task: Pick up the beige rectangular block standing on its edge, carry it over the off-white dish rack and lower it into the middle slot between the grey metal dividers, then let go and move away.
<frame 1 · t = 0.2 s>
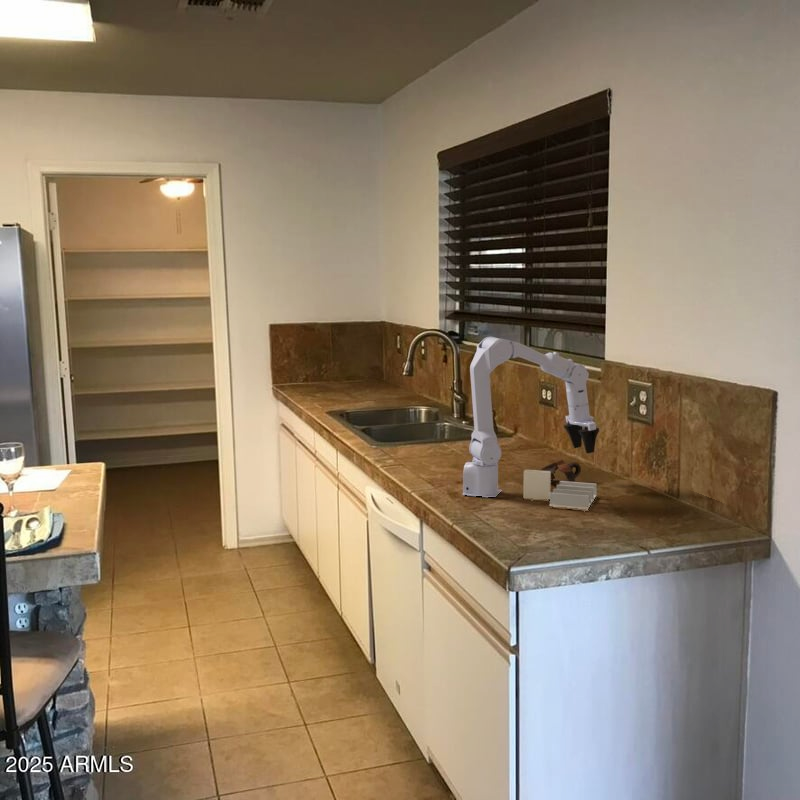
hand: (583, 450, 250), 11 cm above the worktop, tool pointing down, fingers open, 7 cm apart
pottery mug: (562, 484, 255), on the worktop
beige rectangular block: (536, 499, 237), on the worktop
dish rack: (573, 502, 234), on the worktop
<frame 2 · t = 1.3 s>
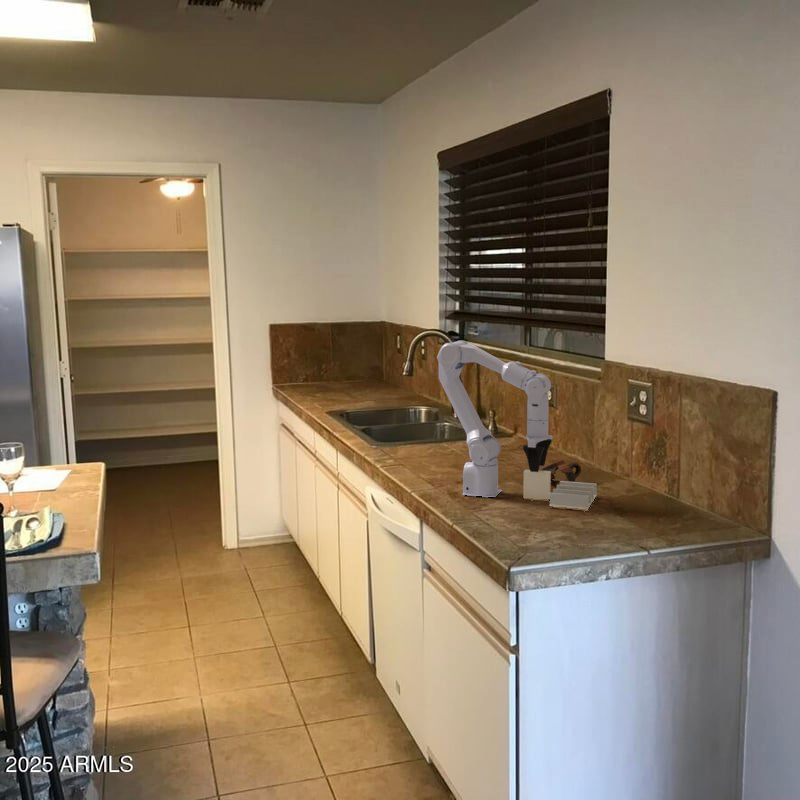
hand: (537, 468, 236), 9 cm above the worktop, tool pointing down, fingers open, 7 cm apart
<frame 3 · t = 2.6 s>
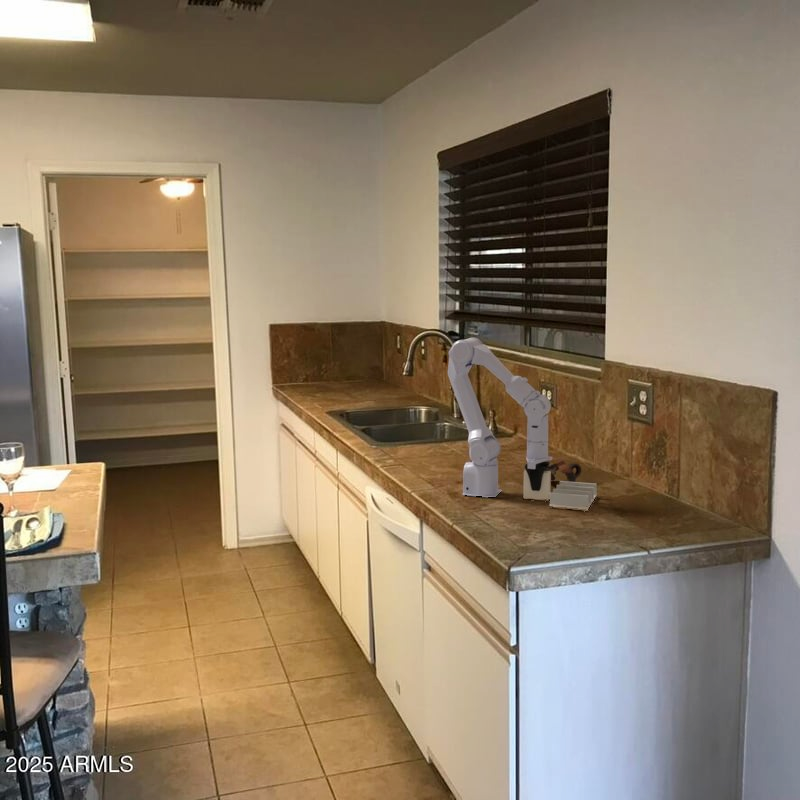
hand: (536, 489, 237), 3 cm above the worktop, tool pointing down, fingers closed on beige rectangular block, 2 cm apart
beige rectangular block: (536, 499, 237), on the worktop, touching gripper
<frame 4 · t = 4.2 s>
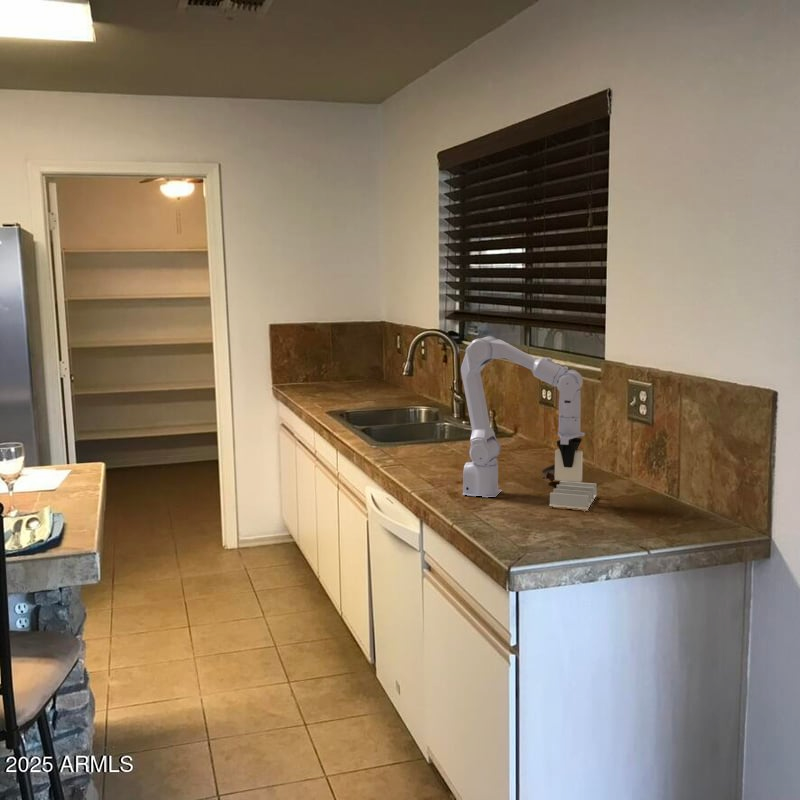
hand: (569, 466, 233), 10 cm above the worktop, tool pointing down, fingers closed on beige rectangular block, 2 cm apart
beige rectangular block: (568, 480, 233), point 6 cm above the worktop, touching gripper
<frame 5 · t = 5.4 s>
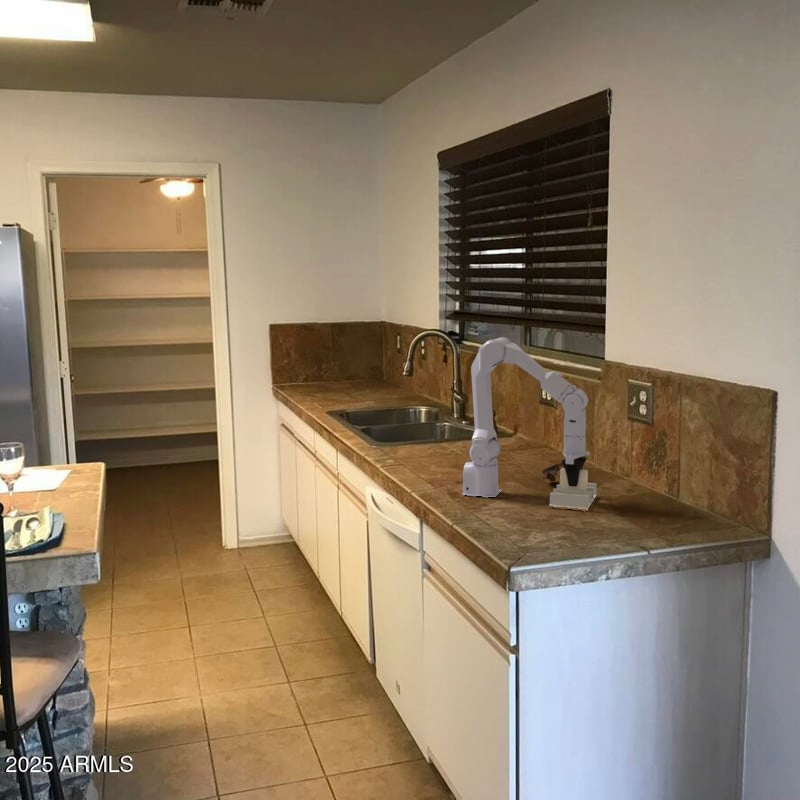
hand: (573, 484, 233), 5 cm above the worktop, tool pointing down, fingers closed on beige rectangular block, 2 cm apart
beige rectangular block: (573, 499, 234), point 1 cm above the worktop, touching dish rack, gripper
when the fingers open (5 cm above the worktop, at t = 5.9 s): beige rectangular block stays where it is, resting on dish rack.
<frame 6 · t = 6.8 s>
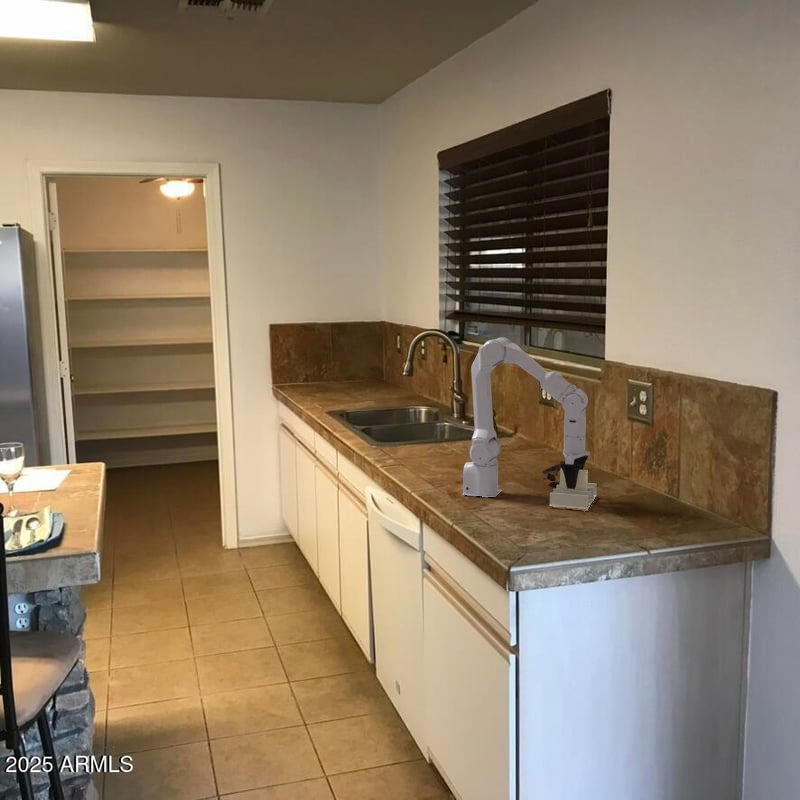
hand: (573, 485, 233), 5 cm above the worktop, tool pointing down, fingers open, 7 cm apart
beige rectangular block: (573, 499, 234), point 1 cm above the worktop, touching dish rack
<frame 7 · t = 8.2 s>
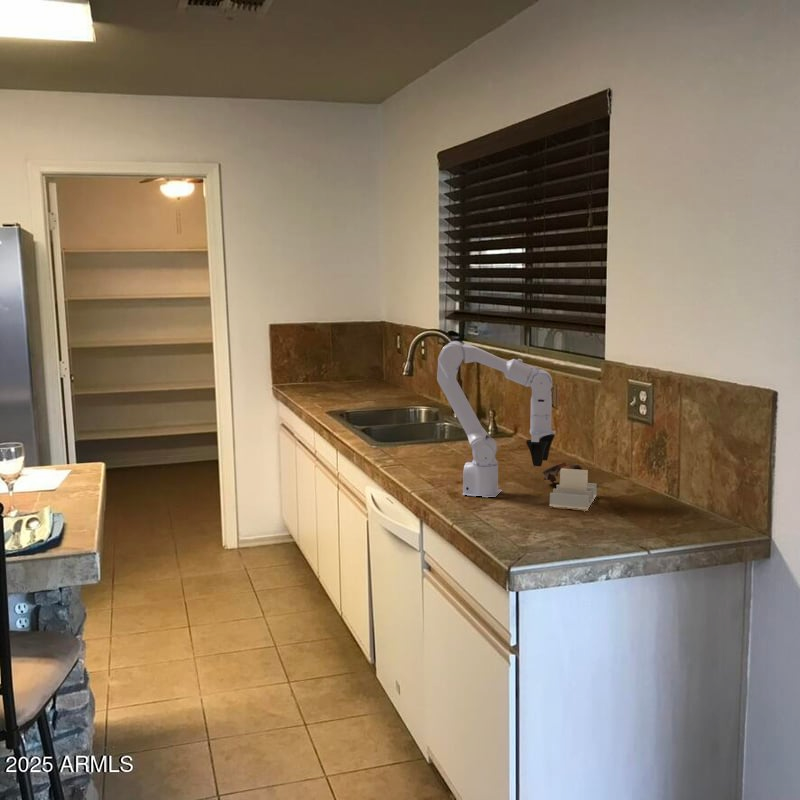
hand: (540, 462, 240), 9 cm above the worktop, tool pointing down, fingers open, 7 cm apart
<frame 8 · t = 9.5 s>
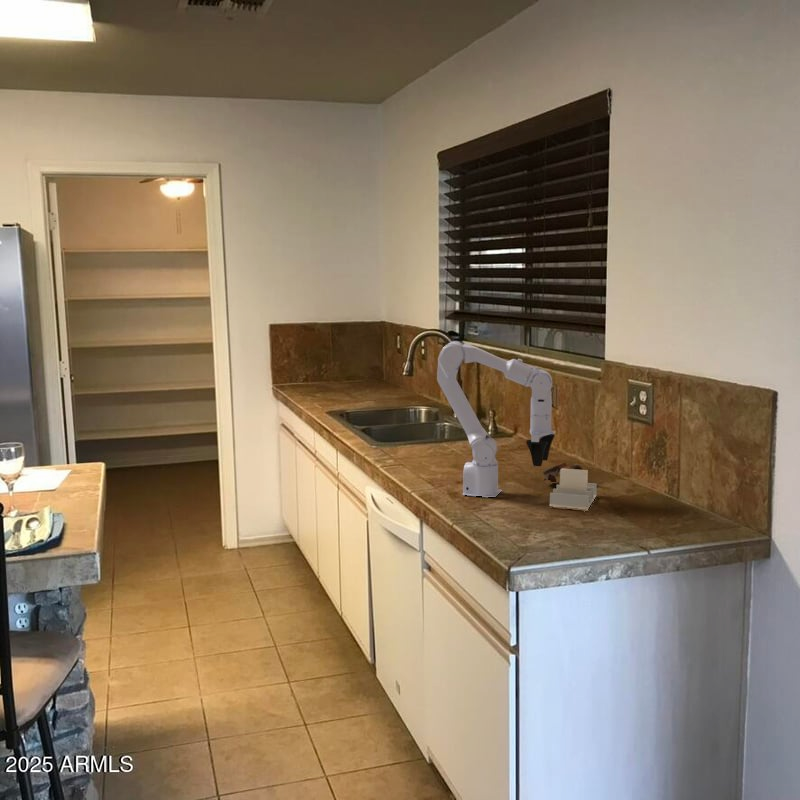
hand: (540, 462, 240), 9 cm above the worktop, tool pointing down, fingers open, 7 cm apart
at the end: beige rectangular block 0.0 cm off-centre on the dish rack, point 1.0 cm above the dish rack's base; beige rectangular block tilted 0°; the gripper is holding nothing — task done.
